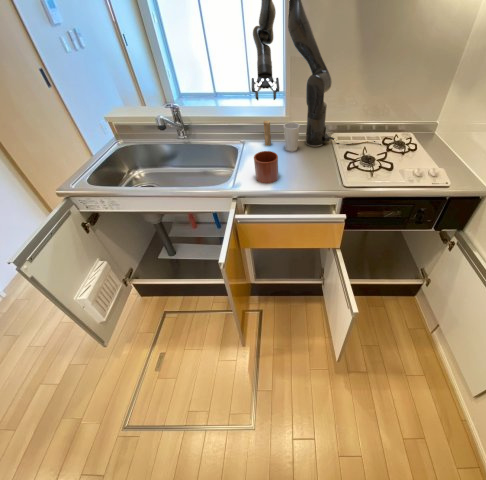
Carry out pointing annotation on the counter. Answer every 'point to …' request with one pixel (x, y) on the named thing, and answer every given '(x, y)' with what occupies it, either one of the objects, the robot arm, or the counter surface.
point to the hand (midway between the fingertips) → (266, 99)
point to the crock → (266, 166)
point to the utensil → (267, 133)
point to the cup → (291, 136)
